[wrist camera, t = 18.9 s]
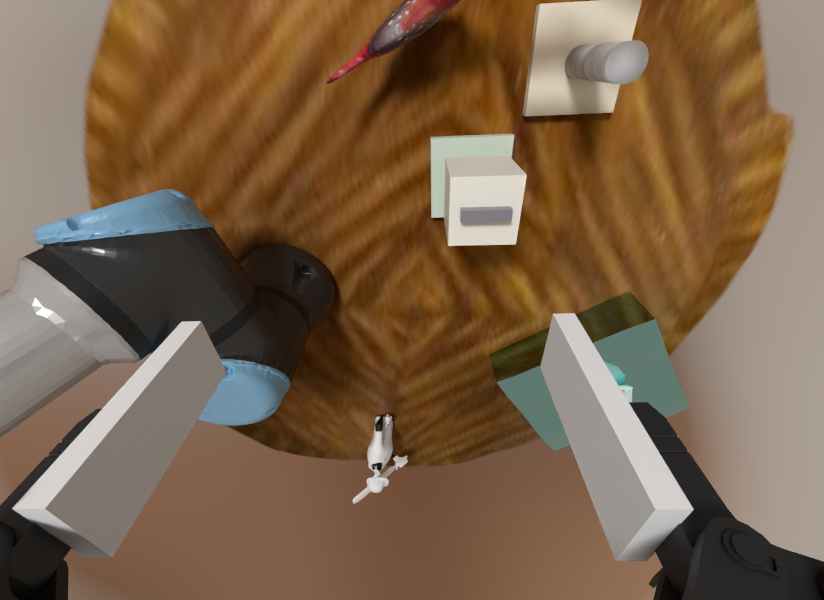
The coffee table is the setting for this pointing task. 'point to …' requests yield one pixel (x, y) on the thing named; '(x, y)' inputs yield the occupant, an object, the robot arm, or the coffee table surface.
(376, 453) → the cricket player figurine
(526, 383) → the sailboat water diorama
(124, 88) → the coffee table surface
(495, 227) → the white drawer box
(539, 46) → the post
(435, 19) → the decorative bird figurine
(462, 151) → the post
